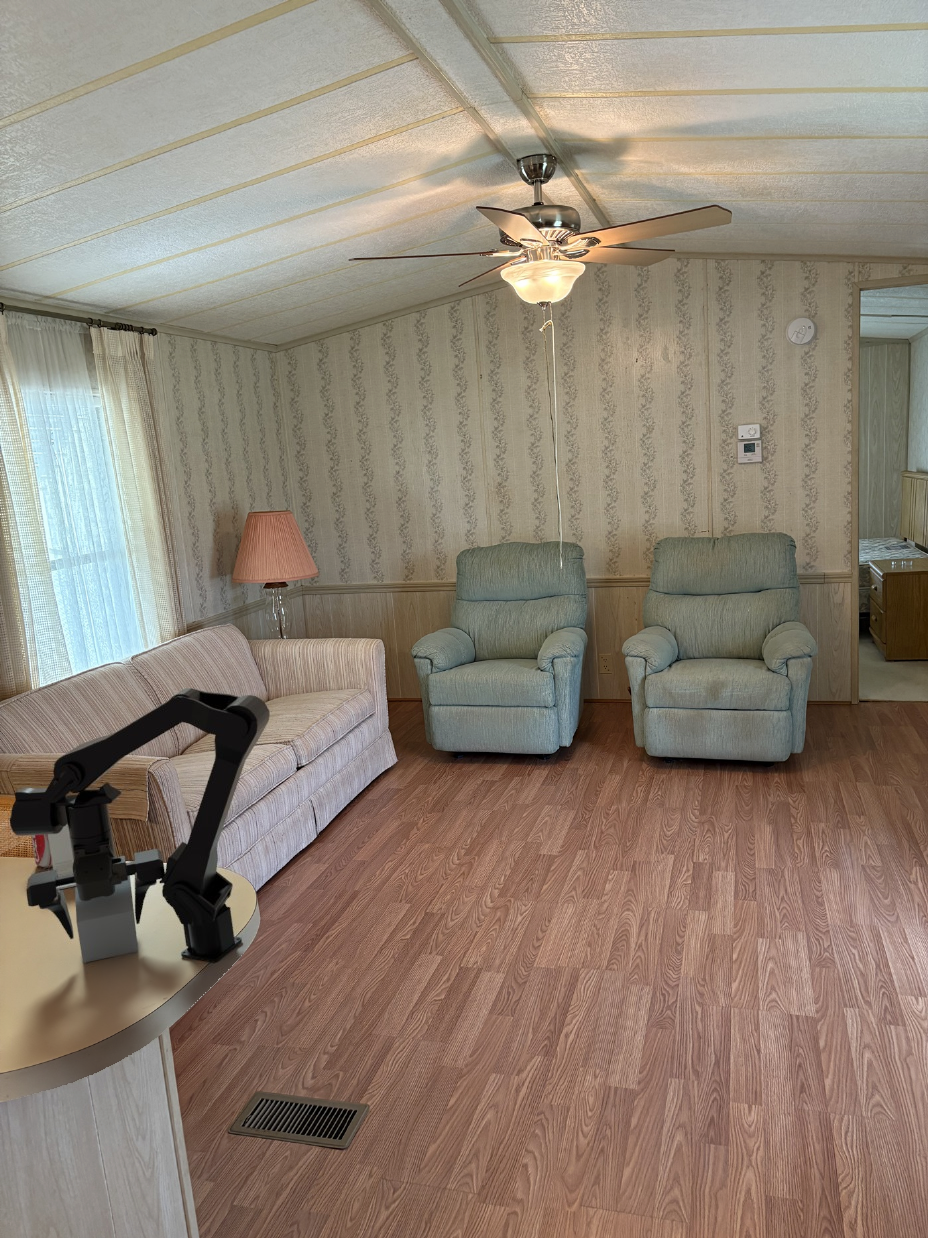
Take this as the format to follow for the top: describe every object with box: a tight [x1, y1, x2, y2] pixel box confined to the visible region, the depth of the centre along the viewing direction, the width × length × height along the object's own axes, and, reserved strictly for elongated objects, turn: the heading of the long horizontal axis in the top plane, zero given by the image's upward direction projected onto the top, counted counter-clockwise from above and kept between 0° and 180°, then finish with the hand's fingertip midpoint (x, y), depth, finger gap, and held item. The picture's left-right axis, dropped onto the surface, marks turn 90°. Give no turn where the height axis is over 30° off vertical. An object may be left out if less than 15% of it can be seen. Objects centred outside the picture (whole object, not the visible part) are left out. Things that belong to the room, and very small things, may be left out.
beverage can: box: [30, 834, 53, 868], centre depth 179 cm, size 6×6×12 cm
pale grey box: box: [74, 875, 139, 964], centre depth 142 cm, size 8×8×9 cm
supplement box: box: [48, 824, 74, 877], centre depth 174 cm, size 7×7×13 cm
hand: (105, 930), depth 142 cm, fingers open, 9 cm apart
